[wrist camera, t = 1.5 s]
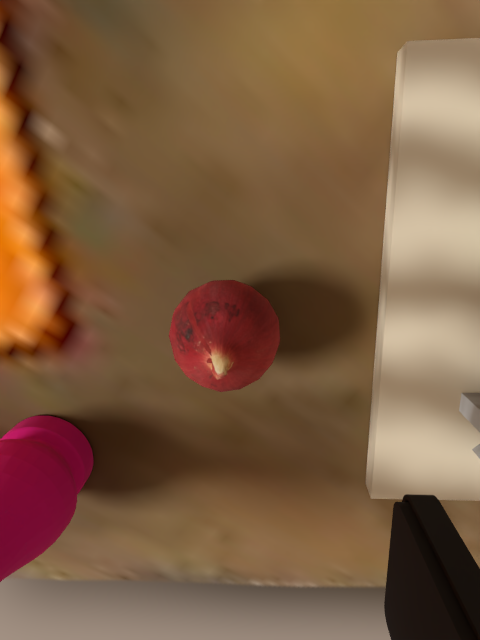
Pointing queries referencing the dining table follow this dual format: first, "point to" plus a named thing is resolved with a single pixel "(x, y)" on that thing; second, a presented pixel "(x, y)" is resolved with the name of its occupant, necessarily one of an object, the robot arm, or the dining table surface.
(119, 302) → the dining table surface
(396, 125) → the gear board
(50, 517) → the pepper mill
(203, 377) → the onion
